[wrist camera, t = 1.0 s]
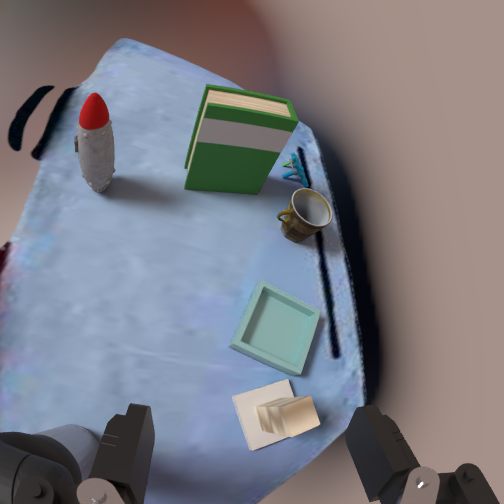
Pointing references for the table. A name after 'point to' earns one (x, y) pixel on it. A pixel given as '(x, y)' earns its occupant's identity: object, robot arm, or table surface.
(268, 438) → the white board
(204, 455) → the table surface
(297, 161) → the teal virus model
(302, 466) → the table surface
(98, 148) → the toy rocket
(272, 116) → the hardback book
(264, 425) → the birch block
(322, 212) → the ceramic cup
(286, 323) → the tray
